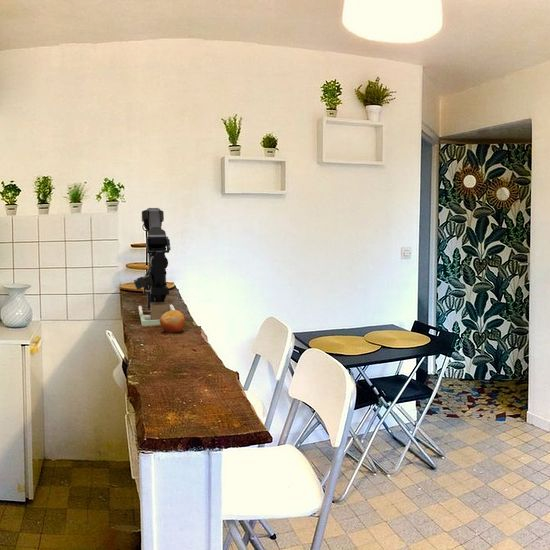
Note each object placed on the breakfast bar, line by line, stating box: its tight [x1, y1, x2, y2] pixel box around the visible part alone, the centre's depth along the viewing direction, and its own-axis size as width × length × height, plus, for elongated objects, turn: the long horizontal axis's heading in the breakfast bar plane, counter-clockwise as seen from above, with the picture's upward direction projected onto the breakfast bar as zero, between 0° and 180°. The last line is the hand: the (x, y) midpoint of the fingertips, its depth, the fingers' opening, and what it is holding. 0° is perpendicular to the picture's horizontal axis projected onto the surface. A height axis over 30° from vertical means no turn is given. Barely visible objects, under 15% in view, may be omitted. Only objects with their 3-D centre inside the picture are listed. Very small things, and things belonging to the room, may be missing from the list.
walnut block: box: [149, 301, 170, 320], centre depth 182 cm, size 6×6×6 cm
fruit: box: [160, 309, 186, 334], centre depth 168 cm, size 8×8×8 cm
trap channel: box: [138, 304, 176, 327], centre depth 189 cm, size 30×13×2 cm, turn 17°
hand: (158, 310), depth 187 cm, fingers closed
